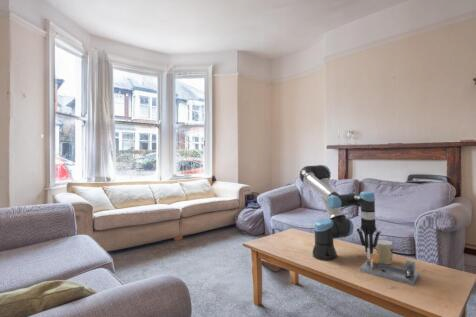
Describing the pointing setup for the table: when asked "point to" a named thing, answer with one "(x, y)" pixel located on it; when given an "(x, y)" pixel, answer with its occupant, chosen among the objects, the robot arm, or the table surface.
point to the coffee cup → (384, 251)
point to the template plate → (392, 271)
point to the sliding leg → (374, 259)
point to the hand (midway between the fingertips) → (369, 258)
